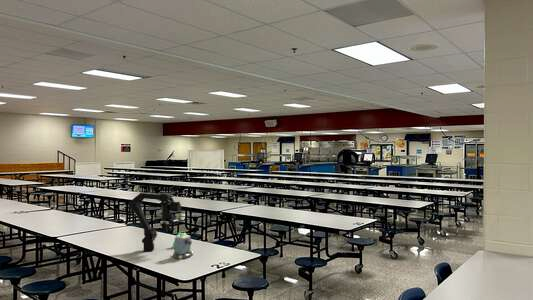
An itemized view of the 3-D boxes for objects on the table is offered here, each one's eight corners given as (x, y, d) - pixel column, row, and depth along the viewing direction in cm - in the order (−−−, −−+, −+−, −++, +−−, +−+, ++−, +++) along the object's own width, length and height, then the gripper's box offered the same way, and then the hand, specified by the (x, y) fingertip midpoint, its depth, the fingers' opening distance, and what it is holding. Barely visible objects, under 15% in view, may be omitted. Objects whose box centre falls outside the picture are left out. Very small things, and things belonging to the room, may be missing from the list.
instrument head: (172, 253, 243) (173, 234, 242) (183, 249, 252) (184, 231, 252) (184, 256, 238) (185, 236, 238) (195, 252, 247) (195, 233, 247)
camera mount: (181, 249, 264) (181, 235, 264) (172, 248, 267) (172, 234, 267) (191, 246, 274) (191, 232, 274) (183, 244, 278) (183, 231, 278)
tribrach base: (167, 257, 243) (167, 251, 243) (180, 252, 255) (180, 247, 255) (182, 260, 237) (182, 254, 237) (195, 255, 249) (195, 249, 249)
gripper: (184, 210, 261) (184, 232, 261) (164, 208, 270) (164, 229, 270) (173, 212, 251) (173, 235, 251) (153, 210, 260) (153, 232, 260)
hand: (166, 233), depth 258 cm, fingers closed
